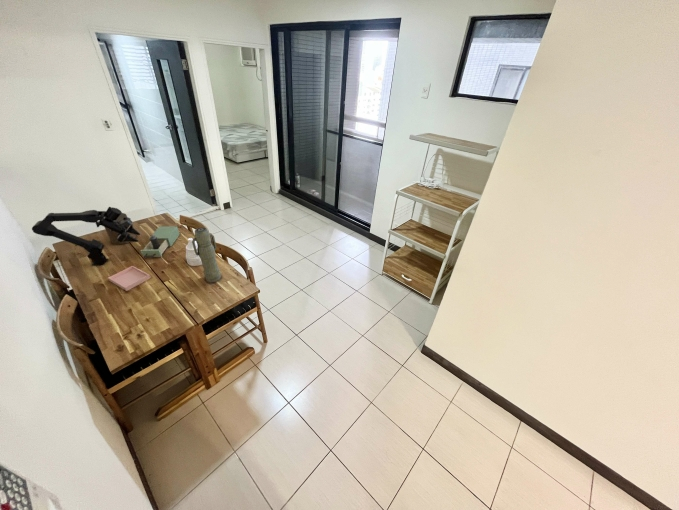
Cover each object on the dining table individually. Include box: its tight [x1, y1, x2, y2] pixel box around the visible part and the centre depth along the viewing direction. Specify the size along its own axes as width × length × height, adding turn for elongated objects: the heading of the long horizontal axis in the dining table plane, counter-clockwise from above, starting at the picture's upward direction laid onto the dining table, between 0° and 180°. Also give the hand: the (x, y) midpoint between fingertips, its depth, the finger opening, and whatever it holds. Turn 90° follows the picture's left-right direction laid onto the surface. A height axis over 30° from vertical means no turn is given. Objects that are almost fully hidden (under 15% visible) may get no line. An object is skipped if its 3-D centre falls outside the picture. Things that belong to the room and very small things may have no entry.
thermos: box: [192, 226, 222, 284], centre depth 161 cm, size 9×12×35 cm
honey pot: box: [185, 237, 203, 267], centre depth 180 cm, size 13×13×18 cm
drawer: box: [140, 239, 169, 259], centre depth 187 cm, size 21×11×5 cm, turn 7°
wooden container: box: [104, 212, 137, 245], centre depth 195 cm, size 15×15×22 cm
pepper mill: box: [149, 234, 160, 250], centre depth 187 cm, size 5×5×11 cm
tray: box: [107, 265, 152, 292], centre depth 165 cm, size 17×14×2 cm
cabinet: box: [148, 225, 180, 248], centre depth 201 cm, size 18×13×7 cm
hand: (138, 237), depth 179 cm, fingers open, 9 cm apart
